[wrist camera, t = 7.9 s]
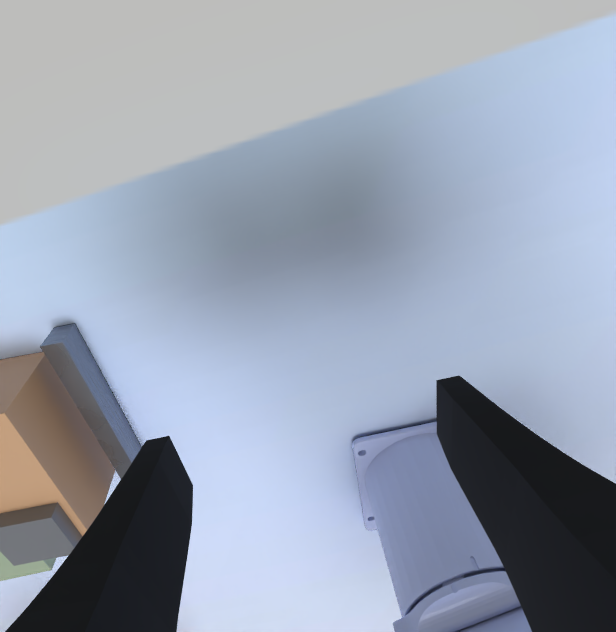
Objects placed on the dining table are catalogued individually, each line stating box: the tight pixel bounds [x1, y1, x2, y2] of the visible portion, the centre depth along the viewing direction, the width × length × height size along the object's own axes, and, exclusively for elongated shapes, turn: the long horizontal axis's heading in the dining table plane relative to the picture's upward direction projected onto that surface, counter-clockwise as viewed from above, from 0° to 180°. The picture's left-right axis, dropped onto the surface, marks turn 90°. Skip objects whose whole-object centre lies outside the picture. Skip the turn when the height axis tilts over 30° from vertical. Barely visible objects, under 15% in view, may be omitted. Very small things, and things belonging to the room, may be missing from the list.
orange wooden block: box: [0, 352, 115, 566], centre depth 21 cm, size 9×4×5 cm, turn 8°
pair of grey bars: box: [40, 323, 142, 479], centre depth 23 cm, size 13×8×2 cm, turn 9°
